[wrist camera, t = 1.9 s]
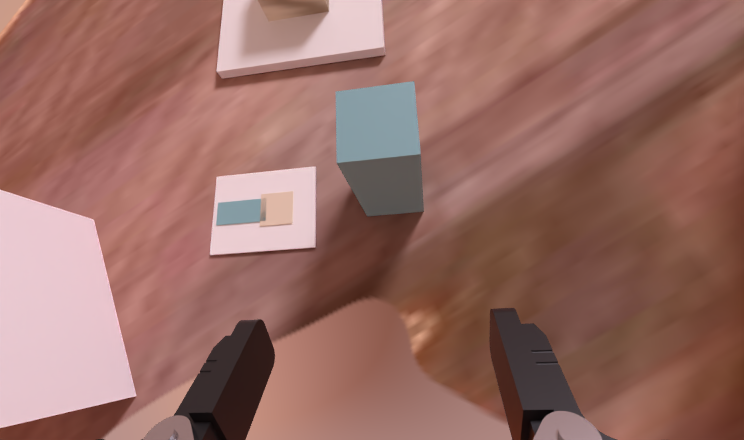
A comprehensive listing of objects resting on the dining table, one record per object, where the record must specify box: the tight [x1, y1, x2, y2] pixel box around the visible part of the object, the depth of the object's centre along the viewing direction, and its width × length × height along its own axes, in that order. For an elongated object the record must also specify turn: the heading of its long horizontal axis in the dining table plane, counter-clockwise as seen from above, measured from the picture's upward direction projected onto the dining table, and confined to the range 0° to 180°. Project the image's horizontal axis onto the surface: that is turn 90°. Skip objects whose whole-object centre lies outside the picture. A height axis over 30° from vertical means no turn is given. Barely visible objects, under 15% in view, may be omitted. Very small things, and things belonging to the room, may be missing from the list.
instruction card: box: [210, 167, 316, 255], centre depth 30 cm, size 9×7×1 cm
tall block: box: [336, 81, 424, 216], centre depth 25 cm, size 4×4×10 cm
